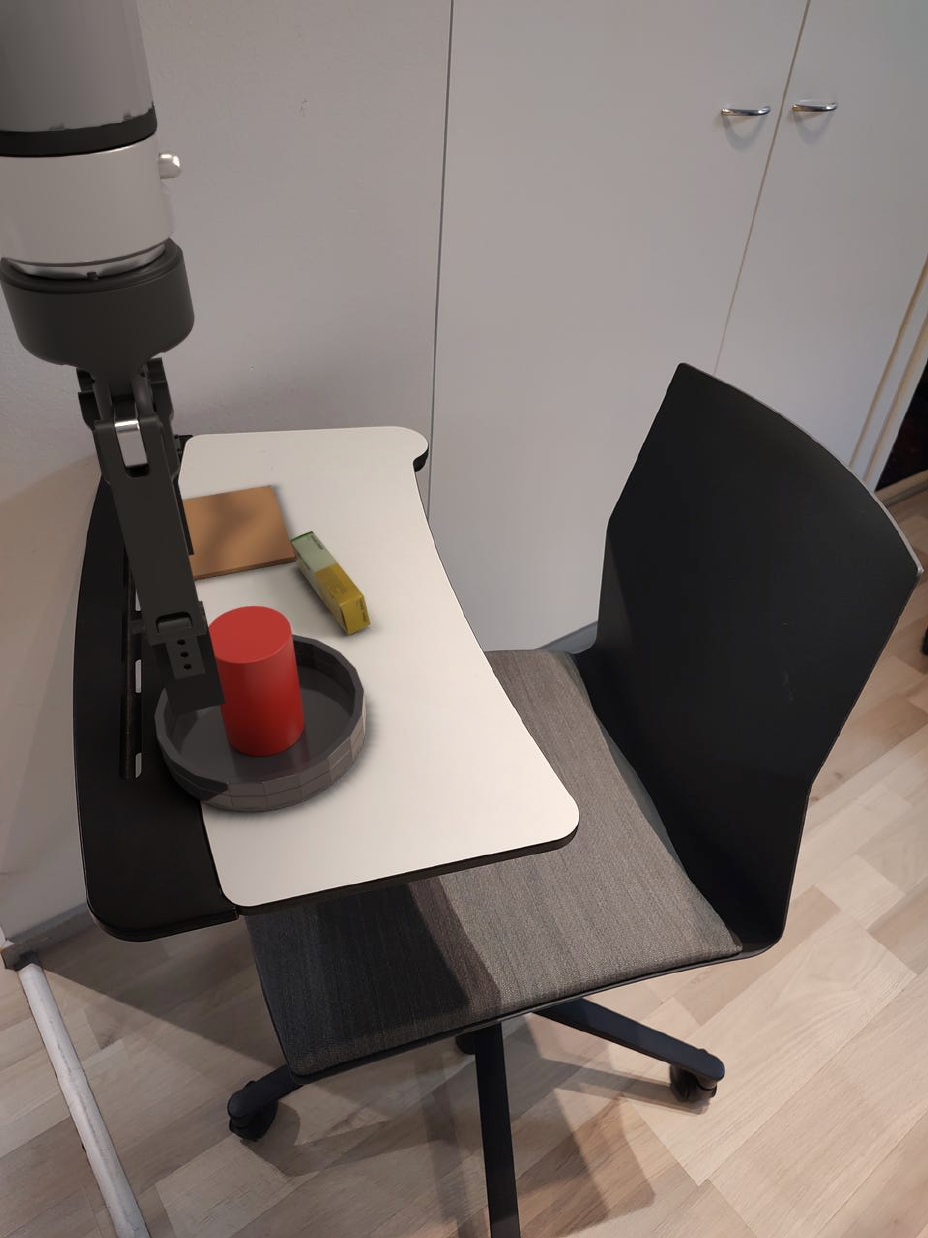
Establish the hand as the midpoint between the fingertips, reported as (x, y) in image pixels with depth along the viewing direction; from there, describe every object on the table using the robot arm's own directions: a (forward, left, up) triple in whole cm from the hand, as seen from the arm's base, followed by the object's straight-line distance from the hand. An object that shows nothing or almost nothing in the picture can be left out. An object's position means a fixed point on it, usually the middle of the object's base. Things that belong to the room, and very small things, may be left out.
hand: (184, 623), depth 51 cm
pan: (+4, +10, -22) cm, 24 cm away
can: (+4, +10, -21) cm, 24 cm away
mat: (+4, +39, -22) cm, 45 cm away
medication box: (+13, +25, -22) cm, 35 cm away
